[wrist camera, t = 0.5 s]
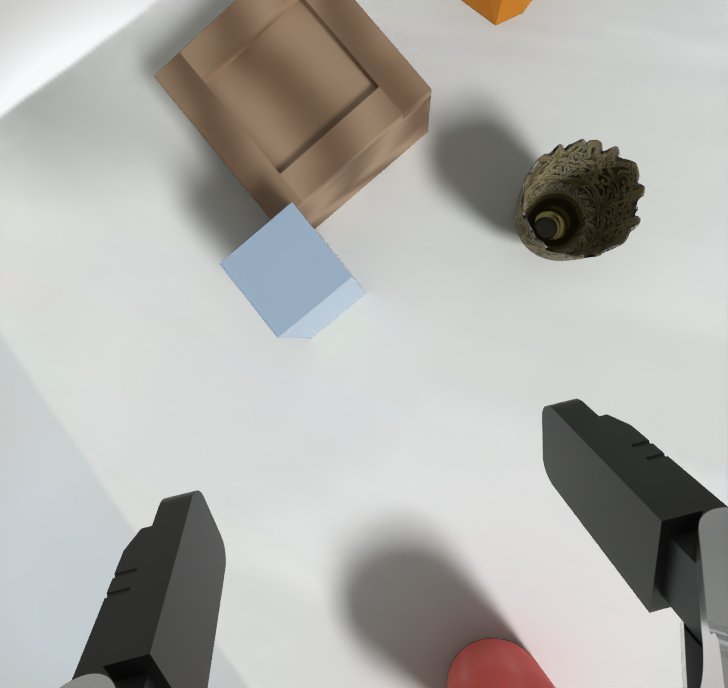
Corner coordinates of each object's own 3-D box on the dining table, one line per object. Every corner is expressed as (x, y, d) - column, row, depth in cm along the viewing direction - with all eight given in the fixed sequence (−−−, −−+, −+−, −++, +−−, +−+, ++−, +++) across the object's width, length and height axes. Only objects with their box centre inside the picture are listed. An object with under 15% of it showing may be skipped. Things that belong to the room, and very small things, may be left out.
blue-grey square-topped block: (322, 237, 39) (291, 202, 29) (366, 293, 38) (351, 276, 28) (267, 283, 39) (219, 263, 29) (311, 338, 39) (277, 337, 29)
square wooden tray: (320, 8, 39) (302, -62, 32) (427, 133, 38) (431, 88, 31) (197, 121, 40) (153, 76, 33) (298, 244, 39) (275, 224, 32)
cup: (507, 175, 37) (534, 130, 29) (601, 188, 36) (656, 145, 28) (490, 267, 37) (513, 247, 29) (584, 281, 36) (633, 265, 29)
